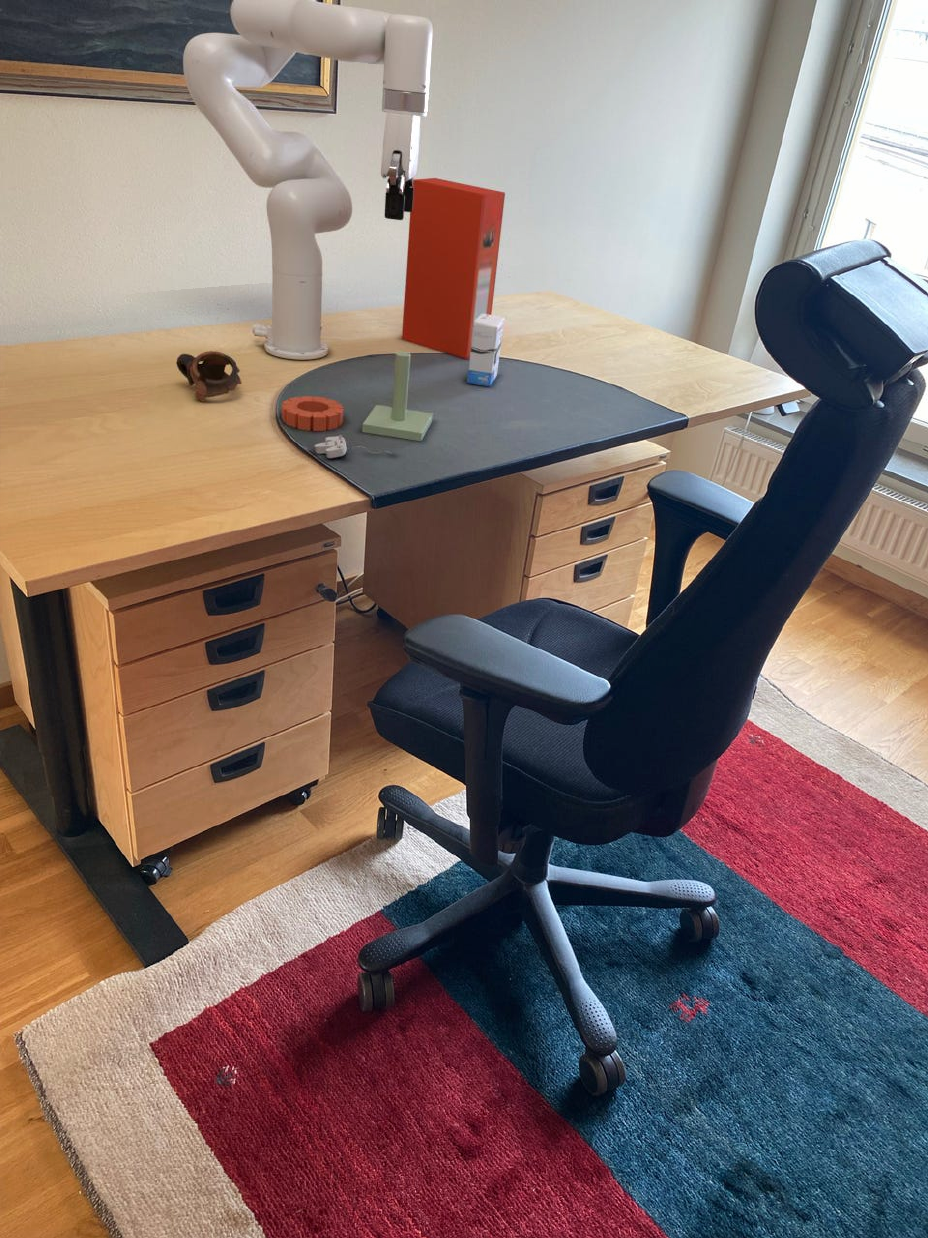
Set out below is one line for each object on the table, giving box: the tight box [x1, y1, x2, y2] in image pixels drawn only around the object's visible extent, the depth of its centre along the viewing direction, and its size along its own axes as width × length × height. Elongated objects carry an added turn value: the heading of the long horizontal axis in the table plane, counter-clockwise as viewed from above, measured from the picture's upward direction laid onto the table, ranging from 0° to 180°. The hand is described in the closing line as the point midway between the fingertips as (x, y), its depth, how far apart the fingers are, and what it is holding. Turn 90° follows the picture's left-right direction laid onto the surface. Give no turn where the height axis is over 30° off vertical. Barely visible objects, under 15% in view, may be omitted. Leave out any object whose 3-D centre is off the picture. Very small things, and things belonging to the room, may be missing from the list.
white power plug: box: [314, 434, 393, 459], centre depth 148 cm, size 6×12×3 cm, turn 116°
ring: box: [281, 395, 345, 432], centre depth 158 cm, size 10×10×2 cm
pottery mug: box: [175, 350, 243, 402], centre depth 162 cm, size 12×10×8 cm
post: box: [361, 351, 433, 442], centre depth 156 cm, size 10×10×12 cm
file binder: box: [401, 177, 506, 360], centre depth 196 cm, size 8×17×32 cm, turn 55°
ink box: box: [466, 314, 505, 388], centre depth 184 cm, size 8×5×12 cm, turn 168°
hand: (398, 214), depth 164 cm, fingers open, 9 cm apart
